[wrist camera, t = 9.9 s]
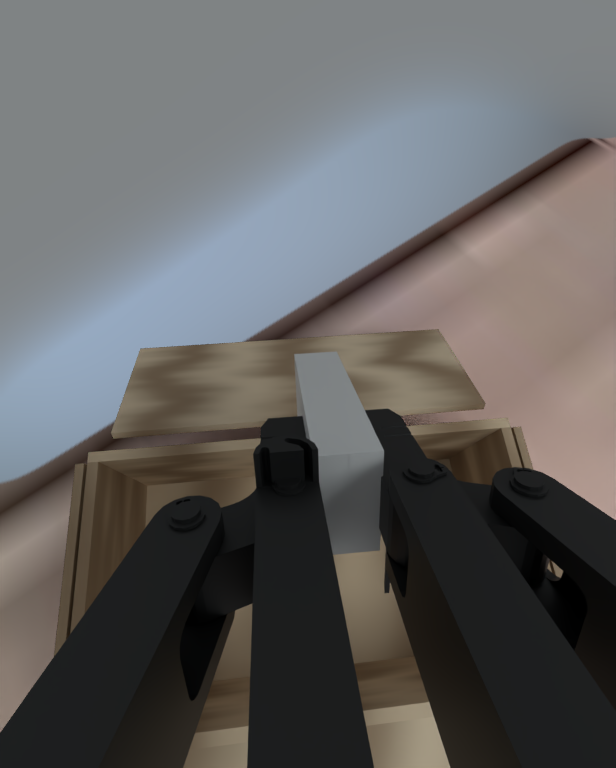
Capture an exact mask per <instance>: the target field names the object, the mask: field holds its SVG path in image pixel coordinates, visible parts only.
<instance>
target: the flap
mask: <svg viewBox="0 0 616 768" xmlns="http://www.w3.org/2000/svg"><path fill="white" fill-rule="evenodd" d="M320 352H337V353H338V355H339V358H340V360H341V362H342V364H343V366H344V368H345V370H346V372H347V374H348V376H349V378H350V381H351V383H352V385H353V387H354V389H355V391H356V393H357V395H358V397H359V399H360V401H361V404H362V406H363V408H364V410H373V409H387V408H388V409H390V410H392V411H393V412H395V413H396V414H398V415H400V416H403V415H415V414H428V413H440V412H453V411H465V410H478V409H484V406H485V402H484V400H483V399H482V397H481V396H480V394H479V393H478V391H477V389H476V388H475V386H474V385H473V383H472V382H471V380H470V378H469V377H468V375H467V374H466V372H465V370H464V369H463V367H462V366H461V364H460V363H459V361H458V359H457V358H456V356H455V355H454V353H453V352H452V350H451V348H450V347H449V345H448V344H447V342H446V341H445V339H444V337H443V336H442V334H441V333H440V331H439V330H438V329H436V330H421V331H405V332H390V333H374V334H359V335H343V336H328V337H313V338H297V339H282V340H266V341H251V342H236V343H222V344H221V343H220V344H205V345H191V346H190V345H189V346H174V347H159V348H144V349H140V351H139V355H138V357H137V360H136V363H135V366H134V369H133V371H132V375H131V377H130V380H129V383H128V386H127V389H126V392H125V394H124V397H123V401H122V403H121V406H120V409H119V412H118V414H117V417H116V420H115V423H114V426H113V429H112V432H111V434H112V437H113V439H116V438H128V437H141V436H153V435H166V434H178V433H191V432H203V431H216V430H228V429H241V428H253V427H262V426H263V424H264V423H265V422H266V421H267V419H268V418H280V417H294V416H297V399H296V378H295V358H294V354H304V353H320Z"/></svg>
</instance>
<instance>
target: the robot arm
mask: <svg viewBox="0 0 616 768" xmlns="http://www.w3.org/2000/svg"><path fill="white" fill-rule="evenodd" d="M294 358H295V378H296V399H297V416H294V417H280V418H268V419H267V421H266V422H265V423H264V424H263V426H262V427H261V440H260V444H259V445H258V446H257V447H256V448H255V450H254V453H253V459H254V469H255V479H256V489H255V491H254V492H253V493H252V494H250V495H249V496H248V497H246V498H245V499H243V500H241V501H239V502H237V503H234V504H231V505H228V506H225V507H222V508H220V505H219V503H218V502H216V501H215V500H213V499H212V498H210V497H205V496H200V495H198V496H186V497H183V498H179V499H176V500H174V501H172V502H170V503H168V504H166V505H165V506H163V507H162V508H161V509H160V510H159V511H158V512H157V513H156V514H155V515H154V516H153V518H152V519H151V521H150V522H149V523H148V525H147V526H146V528H145V529H144V531H143V532H142V533H141V535H140V536H139V538H138V539H137V540H136V542H135V543H134V545H133V546H132V548H131V549H130V550H129V552H128V553H127V555H126V556H125V557H124V559H123V560H122V562H121V563H120V564H119V566H118V567H117V569H116V570H115V572H114V573H113V574H112V576H111V577H110V579H109V580H108V581H107V583H106V584H105V586H104V587H103V589H102V590H101V591H100V593H99V594H98V596H97V597H96V598H95V600H94V601H93V603H92V604H91V605H90V607H89V608H88V610H87V611H86V613H85V614H84V615H83V617H82V618H81V620H80V621H79V622H78V624H77V625H76V627H75V628H74V630H73V631H72V632H71V634H70V635H69V637H68V638H67V639H66V641H65V642H64V644H63V645H62V646H61V648H60V649H59V651H58V652H57V654H56V655H55V656H54V658H53V659H52V661H51V662H50V663H49V665H48V666H47V668H46V669H45V671H44V672H43V673H42V675H41V676H40V678H39V679H38V680H37V682H36V683H35V685H34V686H33V687H32V689H31V690H30V692H29V693H28V695H27V696H26V697H25V699H24V700H23V702H22V703H21V704H20V706H19V707H18V709H17V710H16V712H15V713H14V714H13V716H12V717H11V719H10V720H9V721H8V723H7V724H6V726H5V727H4V728H3V730H2V731H1V733H0V768H183V767H184V764H185V761H186V758H187V755H188V752H189V749H190V746H191V743H192V740H193V738H194V735H195V732H196V729H197V726H198V723H199V720H200V717H201V714H202V711H203V708H204V705H205V702H206V699H207V696H208V694H209V691H210V688H211V685H212V682H213V679H214V676H215V673H216V670H217V667H218V664H219V661H220V658H221V655H222V652H223V649H224V647H225V644H226V641H227V638H228V635H229V632H230V629H231V626H232V623H233V620H234V616H235V610H238V609H240V608H243V607H245V606H248V605H250V604H252V603H253V604H252V635H251V665H250V695H249V725H248V755H247V768H374V764H373V759H372V754H371V749H370V743H369V738H368V733H367V728H366V723H365V718H364V712H363V707H362V702H361V697H360V692H359V686H358V681H357V676H356V671H355V666H354V661H353V655H352V650H351V645H350V640H349V635H348V629H347V624H346V619H345V614H344V609H343V604H342V598H341V593H340V588H339V583H338V578H337V573H336V567H335V562H334V557H333V555H337V554H347V553H358V552H368V551H379V550H380V537H381V535H382V538H383V541H384V544H385V547H386V554H385V574H384V593H389V591H390V583H391V586H392V589H393V592H394V595H395V598H396V601H397V604H398V608H399V611H400V614H401V617H402V620H403V623H404V626H405V629H406V632H407V635H408V638H409V641H410V645H411V648H412V651H413V654H414V657H415V660H416V663H417V666H418V669H419V672H420V675H421V679H422V682H423V685H424V688H425V691H426V694H427V697H428V700H429V703H430V706H431V709H432V712H433V716H434V719H435V722H436V725H437V728H438V731H439V734H440V737H441V740H442V743H443V746H444V749H445V753H446V756H447V759H448V762H449V765H450V768H616V520H614V519H613V518H611V517H610V516H608V515H607V514H605V513H604V512H602V511H601V510H599V509H598V508H596V507H595V506H593V505H592V504H591V503H589V502H588V501H586V500H585V499H583V498H582V497H580V496H579V495H577V494H576V493H574V492H573V491H571V490H570V489H568V488H567V487H565V486H564V485H562V484H561V483H559V482H558V481H556V480H555V479H553V478H551V477H549V476H548V475H546V474H544V473H542V472H538V471H535V470H532V469H529V468H522V467H511V468H504V469H502V470H499V471H497V472H496V473H495V475H494V477H493V479H492V485H486V484H478V483H470V482H464V481H459V480H456V478H455V477H454V475H453V474H452V472H451V471H450V470H449V469H448V468H447V467H446V466H445V465H443V464H441V463H439V462H437V461H435V460H432V459H428V458H427V457H426V456H425V454H424V452H423V451H422V449H421V448H420V446H419V444H418V443H417V441H416V440H415V438H414V437H413V435H411V432H410V430H409V429H408V427H406V424H405V422H404V421H403V419H402V418H401V416H400V415H398V414H396V413H395V412H393V411H392V410H390V409H388V408H387V409H373V410H364V408H363V406H362V404H361V401H360V399H359V397H358V395H357V393H356V391H355V389H354V387H353V385H352V383H351V381H350V378H349V376H348V374H347V372H346V370H345V368H344V366H343V364H342V362H341V360H340V358H339V355H338V353H337V352H320V353H304V354H294ZM549 560H551V561H552V562H553V563H555V564H556V565H557V566H558V567H559V568H560V569H561V570H563V573H562V576H561V578H560V577H557V576H556V575H554V574H553V573H552V572H551V571H550V570H548V569H547V568H548V564H549Z"/></svg>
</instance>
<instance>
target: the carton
mask: <svg viewBox="0 0 616 768" xmlns="http://www.w3.org/2000/svg"><path fill="white" fill-rule="evenodd" d="M406 427H408V429H409V430H410V432H411V435H413V437H414V438H415V440H416V441H417V443H418V444H419V446H420V448H421V449H422V451H423V452H424V454H425V456H426V457H427V458H428V459H432V460H435V461H437V462H439V463H441V464H443V465H445V466H446V467H447V468H448V469H449V470H450V471H451V472H452V474H453V475H454V477H455V478H456V480H459V481H464V482H470V483H478V484H486V485H492V479H493V477H494V475H495V473H496V472H497V471H499V470H502V469H504V468H511V467H522V468H529V469H532V470H533V467H532V463H531V460H530V456H529V453H528V450H527V446H526V443H525V439H524V436H523V433H522V429H521V427H513V428H511V427H510V423H509V420H508V418H500V419H488V420H475V421H463V422H451V423H439V424H427V425H415V426H406ZM260 440H261V438H256V439H244V440H232V441H220V442H208V443H195V444H183V445H171V446H159V447H147V448H135V449H122V450H110V451H98V452H88V461H87V465H86V464H84V463H83V464H75V471H74V480H73V489H72V498H71V507H70V516H69V525H68V534H67V543H66V553H65V562H64V571H63V580H62V589H61V598H60V607H59V616H58V625H57V634H56V643H55V652H54V656H55V655H56V654H57V652H58V651H59V649H60V648H61V646H62V645H63V644H64V642H65V641H66V639H67V638H68V637H69V635H70V634H71V632H72V631H73V630H74V628H75V627H76V625H77V624H78V622H79V621H80V620H81V618H82V617H83V615H84V614H85V613H86V611H87V610H88V608H89V607H90V605H91V604H92V603H93V601H94V600H95V598H96V597H97V596H98V594H99V593H100V591H101V590H102V589H103V587H104V586H105V584H106V583H107V581H108V580H109V579H110V577H111V576H112V574H113V573H114V572H115V570H116V569H117V567H118V566H119V564H120V563H121V562H122V560H123V559H124V557H125V556H126V555H127V553H128V552H129V550H130V549H131V548H132V546H133V545H134V543H135V542H136V540H137V539H138V538H139V536H140V535H141V533H142V532H143V531H144V529H145V528H146V526H147V525H148V523H149V522H150V521H151V519H152V518H153V516H154V515H155V514H156V513H157V512H158V511H159V510H160V509H161V508H162V507H163V506H165V505H166V504H168V503H170V502H172V501H174V500H176V499H179V498H183V497H186V496H198V495H200V496H205V497H210V498H212V499H213V500H215V501H216V502H218V503H219V505H220V508H222V507H225V506H228V505H231V504H234V503H237V502H239V501H241V500H243V499H245V498H246V497H248V496H249V495H250V494H252V493H253V492H254V491H255V489H256V479H255V469H254V459H253V453H254V450H255V448H256V447H257V446H258V445H259V444H260ZM385 554H386V547H385V544H384V541H383V538H382V535H381V537H380V550H379V551H368V552H358V553H347V554H337V555H333V557H334V562H335V567H336V573H337V578H338V583H339V588H340V593H341V598H342V604H343V609H344V614H345V619H346V624H347V629H348V635H349V640H350V645H351V650H352V655H353V661H354V666H355V671H356V676H357V681H358V686H359V692H360V697H361V702H362V707H363V712H364V718H365V723H366V728H367V733H368V738H369V743H370V749H371V754H372V759H373V764H374V768H450V765H449V762H448V759H447V756H446V753H445V749H444V746H443V743H442V740H441V737H440V734H439V731H438V728H437V725H436V722H435V719H434V716H433V712H432V709H431V706H430V703H429V700H428V697H427V694H426V691H425V688H424V685H423V682H422V679H421V675H420V672H419V669H418V666H417V663H416V660H415V657H414V654H413V651H412V648H411V645H410V641H409V638H408V635H407V632H406V629H405V626H404V623H403V620H402V617H401V614H400V611H399V608H398V604H397V601H396V598H395V595H394V592H393V589H392V586H391V583H390V591H389V593H384V574H385ZM547 569H548V570H550V571H551V572H552V573H553V574H554V575H556V576H557V577H560V578H561V576H562V573H563V570H561V569H560V568H559V567H558V566H557V565H556V564H555V563H553V562H552V561H551V560H549V564H548V568H547ZM252 604H253V603H252ZM252 604H250V605H248V606H245V607H243V608H240V609H238V610H235V616H234V620H233V623H232V626H231V629H230V632H229V635H228V638H227V641H226V644H225V647H224V649H223V652H222V655H221V658H220V661H219V664H218V667H217V670H216V673H215V676H214V679H213V682H212V685H211V688H210V691H209V694H208V696H207V699H206V702H205V705H204V708H203V711H202V714H201V717H200V720H199V723H198V726H197V729H196V732H195V735H194V738H193V740H192V743H191V746H190V749H189V752H188V755H187V758H186V761H185V764H184V767H183V768H247V755H248V725H249V695H250V665H251V635H252Z"/></svg>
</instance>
